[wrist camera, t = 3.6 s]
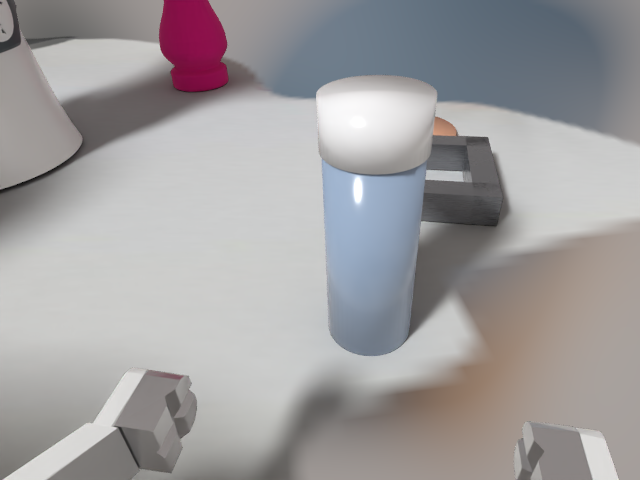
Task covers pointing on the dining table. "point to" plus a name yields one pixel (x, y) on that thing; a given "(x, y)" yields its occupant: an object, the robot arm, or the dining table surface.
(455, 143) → the rail
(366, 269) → the shaker
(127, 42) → the dining table surface
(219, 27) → the pepper mill
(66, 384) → the dining table surface
